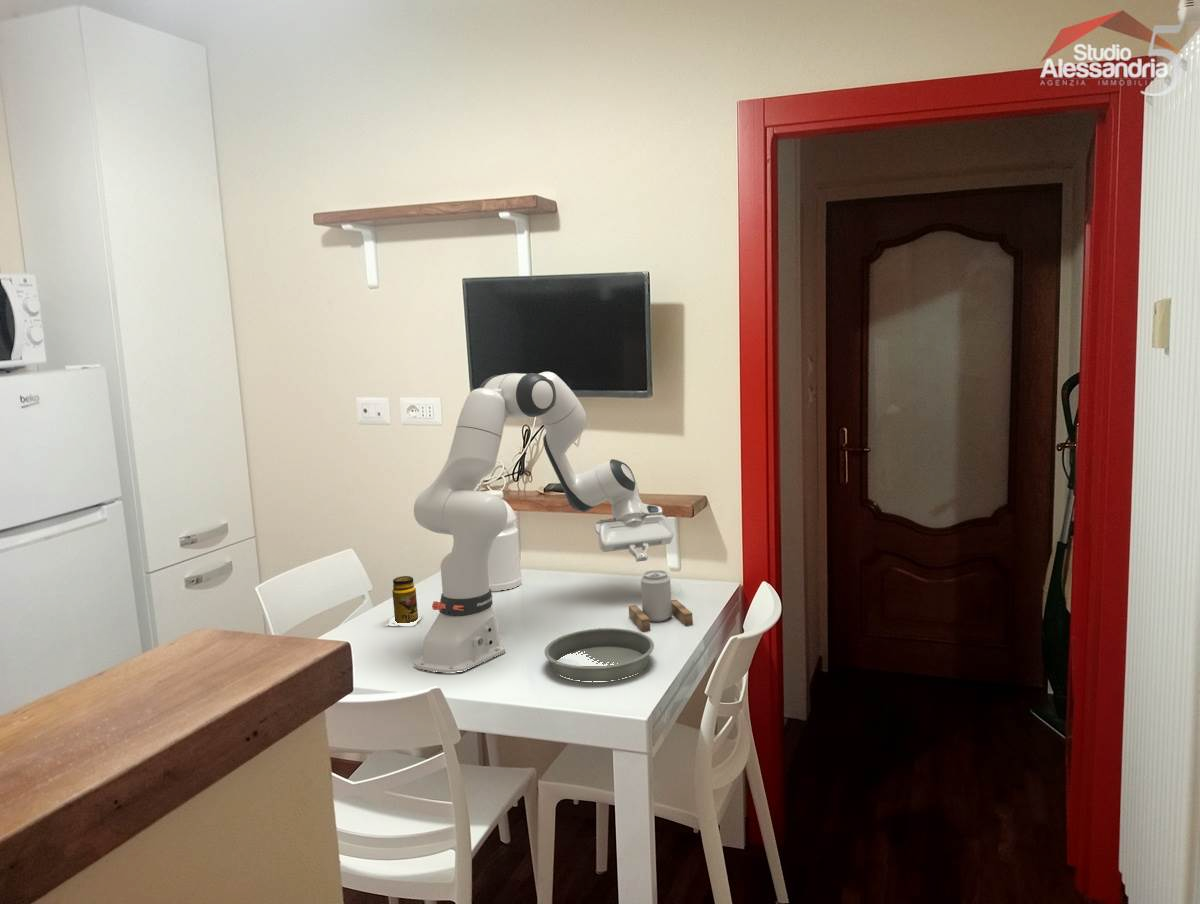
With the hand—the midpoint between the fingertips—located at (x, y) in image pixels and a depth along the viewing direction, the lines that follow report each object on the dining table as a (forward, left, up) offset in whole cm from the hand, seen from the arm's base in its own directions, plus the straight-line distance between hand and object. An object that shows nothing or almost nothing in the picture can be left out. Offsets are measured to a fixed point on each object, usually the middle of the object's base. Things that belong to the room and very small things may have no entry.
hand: (642, 560), depth 251 cm
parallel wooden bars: (-11, -9, -12) cm, 19 cm away
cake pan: (-42, -7, -13) cm, 44 cm away
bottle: (+5, +49, -13) cm, 51 cm away
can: (-9, -7, -13) cm, 17 cm away
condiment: (-31, +56, -13) cm, 65 cm away
